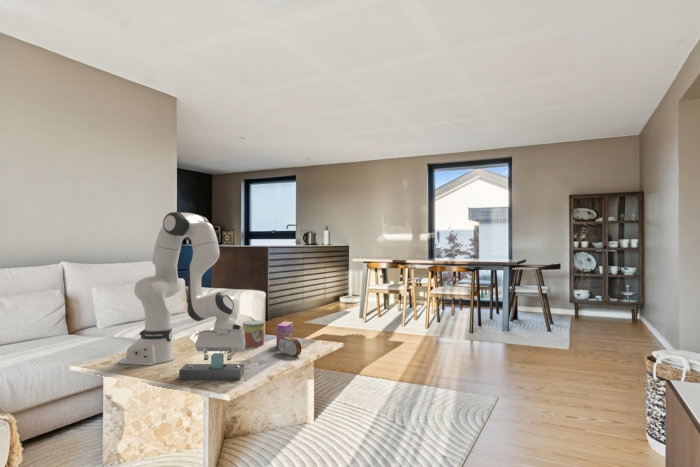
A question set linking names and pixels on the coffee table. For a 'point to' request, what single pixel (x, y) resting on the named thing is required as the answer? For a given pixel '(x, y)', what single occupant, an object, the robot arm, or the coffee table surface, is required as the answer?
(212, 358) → the peg
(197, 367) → the grey slotted base
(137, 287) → the robot arm
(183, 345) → the coffee table surface
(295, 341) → the tin
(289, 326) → the box
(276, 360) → the coffee table surface
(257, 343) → the canned food
